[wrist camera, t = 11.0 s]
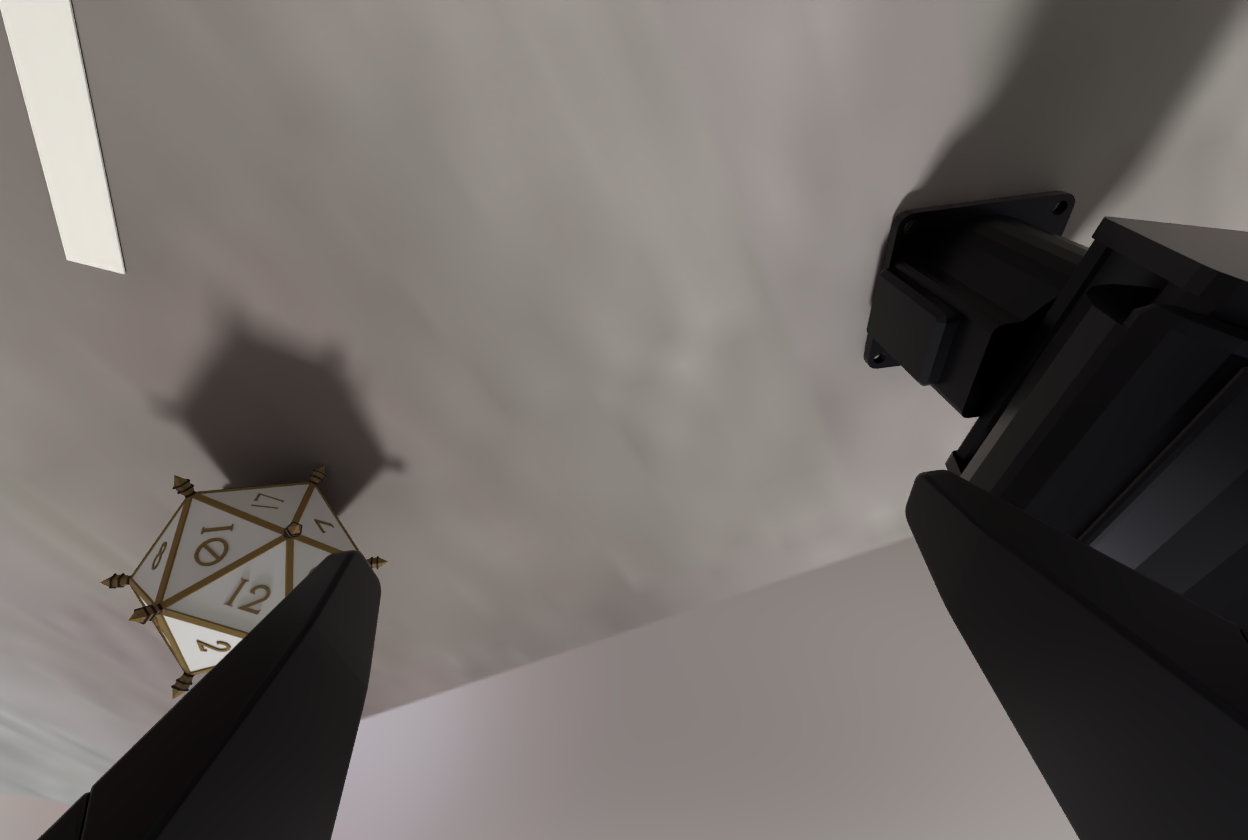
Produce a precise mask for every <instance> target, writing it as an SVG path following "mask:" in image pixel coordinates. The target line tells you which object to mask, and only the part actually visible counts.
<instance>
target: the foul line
mask: <svg viewBox="0 0 1248 840" xmlns="http://www.w3.org/2000/svg"><path fill="white" fill-rule="evenodd" d="M0 9H1V13H2V17H3V21H4V24H5V28H6V32H7V36H8V39H9V43H10V47H11V51H12V54H13V58H14V62H15V66H16V70H17V73H18V77H19V81H20V85H21V88H22V92H23V96H24V100H25V104H26V107H27V111H28V115H29V119H30V122H31V126H32V130H33V134H34V137H35V141H36V145H37V149H38V153H39V156H40V160H41V164H42V168H43V171H44V175H45V179H46V183H47V187H48V190H49V194H50V198H51V202H52V205H53V209H54V213H55V217H56V220H57V224H58V228H59V232H60V236H61V239H62V243H63V247H64V251H65V254H66V258H67V260H69V261H73V262H77V263H81V264H85V265H89V266H93V267H97V268H101V269H105V270H109V271H113V272H117V273H121V274H126V272H125V267H124V262H123V257H122V252H121V247H120V243H119V238H118V233H117V228H116V223H115V218H114V213H113V208H112V203H111V198H110V193H109V188H108V183H107V178H106V173H105V168H104V163H103V158H102V153H101V148H100V143H99V138H98V134H97V129H96V124H95V119H94V114H93V109H92V104H91V99H90V94H89V89H88V84H87V79H86V74H85V69H84V64H83V59H82V54H81V49H80V44H79V39H78V34H77V29H76V24H75V20H74V15H73V10H72V5H71V0H0Z"/></svg>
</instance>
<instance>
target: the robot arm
mask: <svg viewBox="0 0 1248 840" xmlns="http://www.w3.org/2000/svg"><path fill="white" fill-rule="evenodd" d="M1058 203H1059V205H1058V206H1057V208H1056V209H1055V210H1054V211H1053V209H1054V207H1055V205H1056V204H1058ZM1074 203H1075V198H1074V196H1073V195H1072V194H1069V193H1066V192H1063V191H1052V192H1044V193H1037V194H1029V195H1021V196H1013V197H1005V198H998V199H990V200H982V201H974V202H966V203H959V204H951V205H943V206H935V207H928V208H920V209H912V210H907V211H904V212H902V213H901V214H899V215H898V216H897V217H896V219H895V220H894V222H893V224H892V228H891V232H890V237H889V241H888V246H887V251H886V255H885V260H884V265H883V269H882V271H881V273H880V274H879V275H878V279H877V284H876V288H875V293H874V298H873V302H872V307H871V312H870V317H869V321H868V326H867V332H868V333H869V334H868V338H867V343H866V348H865V352H864V360H865V362H866V363H867V364H868V365H869V366H870V367H871V368H877V369H878V368H885V367H893V366H900V365H901V366H902V367H903V368H904V369H905V370H906V371H907V372H908V373H909V374H910V375H911V376H912V377H913V378H914V379H915V380H916V381H917V382H918V383H919V384H921V385H922V386H927V385H931V386H932V387H933V388H934V389H935V390H936V391H937V392H938V393H939V394H940V395H941V396H942V397H943V398H944V399H945V400H946V401H947V402H948V403H949V404H951V405H952V406H953V407H954V408H955V409H956V410H957V411H958V412H959V413H960V414H961V415H962V416H963V417H964V418H972V417H979V418H978V419H977V421H976V422H975V424H974V426H973V427H972V429H971V430H970V432H969V433H968V435H967V436H966V438H965V439H964V441H963V442H962V444H961V445H960V447H959V449H958V450H956V451H953V452H952V453H951V455H950V457H949V458H948V460H947V461H946V463H945V465H946V467H947V470H948V471H947V470H936V471H929V472H922V473H920V474H919V475H918V476H917V477H916V479H915V481H914V484H913V487H912V490H911V493H910V496H909V499H908V501H907V504H906V511H905V513H906V518H907V522H908V524H909V526H910V529H911V531H912V533H913V535H914V538H915V540H916V542H917V544H918V547H919V549H920V551H921V553H922V556H923V558H924V560H925V562H926V565H927V567H928V569H929V571H930V574H931V576H932V578H933V580H934V582H935V585H936V587H937V589H938V592H939V594H940V596H941V598H942V600H943V602H944V604H945V606H946V608H947V610H948V612H949V614H950V615H951V617H952V619H953V621H954V623H955V624H956V626H957V628H958V630H959V631H960V633H961V635H962V636H963V638H964V640H965V641H966V644H967V645H968V647H969V649H970V650H971V652H972V654H973V656H974V657H975V659H976V661H977V663H978V664H979V666H980V668H981V669H982V671H983V673H984V675H985V676H986V678H987V680H988V682H989V683H990V685H991V687H992V688H993V690H994V692H995V694H996V695H997V697H998V699H999V701H1000V702H1001V704H1002V706H1003V708H1004V709H1005V711H1006V712H1007V715H1008V716H1009V718H1010V720H1011V721H1012V723H1013V725H1014V727H1015V728H1016V730H1017V732H1018V734H1019V735H1020V737H1021V739H1022V740H1023V742H1024V744H1025V746H1026V747H1027V749H1028V751H1029V753H1030V754H1031V756H1032V758H1033V760H1034V761H1035V763H1036V765H1037V766H1038V768H1039V770H1040V772H1041V773H1042V775H1043V777H1044V779H1045V780H1046V782H1047V784H1048V785H1049V787H1050V789H1051V791H1052V792H1053V794H1054V796H1055V798H1056V799H1057V801H1058V803H1059V805H1060V806H1061V808H1062V810H1063V811H1064V813H1065V815H1066V817H1067V818H1068V820H1069V822H1070V824H1071V825H1072V827H1073V829H1074V831H1075V832H1076V834H1077V836H1078V838H1079V839H1080V840H1248V232H1245V231H1236V230H1227V229H1218V228H1209V227H1199V226H1190V225H1181V224H1172V223H1162V222H1153V221H1144V220H1135V219H1126V218H1116V217H1106V216H1105V217H1104V218H1103V220H1102V221H1101V223H1100V225H1099V226H1098V228H1097V229H1096V231H1095V232H1094V234H1093V235H1092V238H1094V239H1095V240H1094V241H1093V243H1092V245H1091V246H1090V248H1088V247H1086V246H1083V245H1081V244H1078V243H1076V242H1073V241H1071V240H1068V239H1066V238H1064V237H1061V236H1062V233H1063V231H1064V229H1065V226H1066V224H1067V221H1068V219H1069V217H1070V214H1071V212H1072V209H1073V207H1074ZM911 220H912V225H911V227H910V228H909V229H908V230H906V231H904V227H905V225H906V224H907V223H908V222H909V221H911ZM880 353H881V354H880ZM878 354H880V356H879V357H878V358H876V359H874V358H875V356H876V355H878ZM380 597H381V586H380V582H379V579H378V577H377V576H376V574H375V573H374V571H373V570H372V568H371V567H370V565H369V563H368V562H367V560H366V559H365V557H364V556H363V554H362V553H361V552H359V551H357V550H349V551H342V552H335V553H332V554H330V555H328V556H327V557H326V558H325V559H324V560H322V561H321V562H320V563H319V564H318V565H317V566H316V567H315V568H314V569H313V570H312V571H311V572H310V573H309V574H308V575H307V576H306V577H305V578H304V579H303V580H302V581H301V582H300V583H299V584H298V585H297V586H296V587H295V588H294V589H293V590H292V591H291V592H290V593H289V594H288V595H287V596H286V597H285V598H284V599H283V600H282V601H281V602H280V603H279V604H278V605H277V606H276V607H275V608H274V609H273V610H271V611H270V612H269V613H268V614H267V615H266V616H265V617H264V618H263V619H262V620H261V621H260V622H259V623H258V624H257V625H256V626H255V627H254V628H253V629H252V630H251V631H250V632H249V633H248V634H247V635H246V636H245V637H244V638H243V639H242V640H241V641H240V642H239V643H238V644H237V645H236V646H235V647H234V648H233V649H232V650H231V651H230V652H229V653H228V654H227V655H226V656H225V657H224V658H223V659H222V660H220V661H219V662H218V663H217V664H216V665H215V666H214V667H213V668H212V669H211V670H210V671H209V672H208V673H207V674H206V675H205V676H204V677H203V678H202V679H201V680H200V681H199V682H198V683H197V684H196V685H195V686H194V687H193V688H192V689H191V690H190V691H189V692H188V693H187V694H186V695H185V696H184V697H183V698H182V699H181V700H180V701H179V702H178V703H177V704H176V705H175V706H174V707H173V708H172V709H171V710H169V711H168V712H167V713H166V714H165V715H164V716H163V717H162V718H161V719H160V720H159V721H158V722H157V723H156V724H155V725H154V726H153V727H152V728H151V729H150V730H149V731H148V732H147V733H146V734H145V735H144V736H143V737H142V738H141V739H140V740H139V741H138V742H137V743H136V744H135V745H134V746H133V747H132V748H131V749H130V750H129V751H128V752H127V753H126V754H125V755H124V756H123V757H122V758H121V759H120V760H118V761H117V762H116V763H115V764H114V765H113V766H112V767H111V768H110V769H109V770H108V771H107V772H106V773H105V774H104V775H103V776H102V777H101V778H100V779H99V780H98V781H97V782H96V783H95V784H94V785H93V786H92V788H91V791H90V792H88V793H85V794H84V795H83V796H82V797H80V798H79V799H78V800H77V801H76V802H75V803H74V804H73V805H72V806H71V807H70V808H69V809H68V810H67V811H66V812H65V813H64V814H63V815H62V816H61V817H60V818H59V819H58V820H57V821H56V822H55V823H54V824H53V825H52V826H51V827H50V828H49V829H48V830H47V831H46V832H45V833H44V834H43V835H41V837H39V838H38V839H37V840H331V836H332V832H333V828H334V824H335V820H336V816H337V812H338V807H339V804H340V800H341V796H342V791H343V787H344V783H345V779H346V775H347V771H348V767H349V763H350V759H351V755H352V751H353V747H354V743H355V739H356V735H357V731H358V727H359V723H360V719H361V715H362V711H363V707H364V702H365V698H366V693H367V689H368V683H369V677H370V671H371V663H372V656H373V649H374V641H375V634H376V627H377V619H378V612H379V605H380Z"/></svg>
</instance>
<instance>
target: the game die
mask: <svg viewBox="0 0 1248 840" xmlns="http://www.w3.org/2000/svg"><path fill="white" fill-rule="evenodd" d="M313 471H314V472H313V474H312V475H310V476H311V479H310V481H309V482H299V483H288V484H277V485H266V486H255V487H244V488H233V489H222V490H210V491H199V492H195V491H194V489H193V487H194V485H193V484H191V483H190V480H189V479H183V478H181V477H178V476H176V475H174V487H173V489H176V490H177V491H178V492H177V493H178V494H179V493H181V494H182V495H184V496H185V500H184V501H183V503H182V504H181V505H180V507H179V508H178V510H177V511H176V513H175V514H174V515H173V517H172V518H171V520H170V521H169V523H168V524H167V525H166V527H165V528H164V530H163V531H162V533H161V534H160V535H159V537H158V538H157V540H156V541H155V543H154V544H153V545H152V547H151V548H150V550H149V551H148V553H147V554H146V556H145V557H144V558H143V560H142V561H141V563H140V564H139V566H138V567H137V568H136V570H135V571H134V573H133V574H132V575H131V576H128V575H125V574H124V573H122V574H121V575H117V574H114V575H113V576H112V577H110V578H108V579H106V580H104V581H102V582H101V583H102V584H104V585H106V586H109V588H116V587H124V586H126V585H130V586H131V588H132V590H133V591H134V593H135V594H136V596H137V598H138V599H139V601H140V602H141V604H142V606H143V607H142V608H138V609H135V610H134V613H133V615H132V616H131V618H130V619H129V620H130V621H136V622H139V623H141V624H145V623H146V622H147V621H148V620H149V621H152V622H153V623H154V625H155V626H156V628H157V630H158V631H159V633H160V634H161V636H162V638H163V639H164V641H165V642H166V644H167V646H168V647H169V649H170V650H171V652H172V654H173V655H174V657H175V658H176V660H177V662H178V663H179V665H180V666H181V668H182V670H183V671H184V674H183V675H182V676H181V677H180V678H179V679H177V680H176V681H177V682H176V683H175V685H173V686H171V687H172V688H173V699H174V698H175V697H177V696H179V695H180V694H182V693H184V692H185V691H188V690H189V689H188V687H189V686H190V685H192V678H193V676H194V675H197V674H200V673H204V672H208V671H210V670H211V669H212V668H213V667H214V666H215V665H216V664H217V663H218V662H219V661H220V660H222V659H223V658H224V657H225V656H226V655H227V654H228V653H229V652H230V651H231V650H232V649H233V648H234V647H235V646H236V645H237V644H238V643H239V642H240V641H241V640H242V639H243V638H244V637H245V636H246V635H247V634H248V633H249V632H250V631H251V630H252V629H253V628H254V627H255V626H256V625H257V624H258V623H259V622H260V621H261V620H262V619H263V618H264V617H265V616H266V615H267V614H268V613H269V612H270V611H271V610H273V609H274V608H275V607H276V606H277V605H278V604H279V603H280V602H281V601H282V600H283V599H284V598H285V597H286V596H287V595H288V594H289V593H290V592H291V591H292V590H293V589H294V588H295V587H296V586H297V585H298V584H299V583H300V582H301V581H302V580H303V579H304V578H305V577H306V576H307V575H308V574H309V573H310V572H311V571H312V570H313V569H314V568H315V567H316V566H317V565H318V564H319V563H320V562H321V561H322V560H324V559H325V558H326V557H327V556H328V555H330V554H332V553H335V552H342V551H349V550H357V551H359V550H358V548H357V546H356V545H355V543H354V542H353V540H352V539H351V537H350V536H349V534H348V533H347V531H346V530H345V528H344V527H343V525H342V523H341V522H340V520H339V519H338V517H337V516H336V514H335V513H334V511H333V510H332V508H331V507H330V505H329V504H328V502H327V500H326V499H325V497H324V496H323V494H322V493H321V491H320V490H319V488H318V487H317V484H318V483H319V482H320V481H322V478H323V477H324V476H326V475H325V465H324V466H322V467H320V468H318V469H316V470H313ZM359 552H360V551H359ZM367 562H368V563H369V565H370V567H371V568H377V569H378V568H379V567H380V566H382V565H383V564H385V563H386V562H388V561H385V560H383V559H381V558H379V557H378V556H377V558H373V557H371V558H370V559H367Z"/></svg>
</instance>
